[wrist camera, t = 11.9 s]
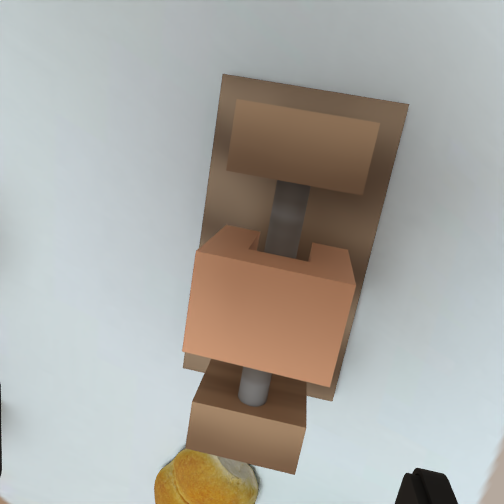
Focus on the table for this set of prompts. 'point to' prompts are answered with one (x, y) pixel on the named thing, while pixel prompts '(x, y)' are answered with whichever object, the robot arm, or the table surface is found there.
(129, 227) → the table surface
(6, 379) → the table surface
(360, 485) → the table surface
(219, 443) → the stand
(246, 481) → the bread roll
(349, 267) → the clip
